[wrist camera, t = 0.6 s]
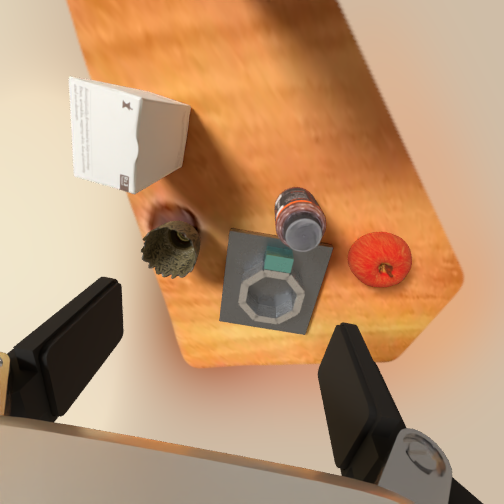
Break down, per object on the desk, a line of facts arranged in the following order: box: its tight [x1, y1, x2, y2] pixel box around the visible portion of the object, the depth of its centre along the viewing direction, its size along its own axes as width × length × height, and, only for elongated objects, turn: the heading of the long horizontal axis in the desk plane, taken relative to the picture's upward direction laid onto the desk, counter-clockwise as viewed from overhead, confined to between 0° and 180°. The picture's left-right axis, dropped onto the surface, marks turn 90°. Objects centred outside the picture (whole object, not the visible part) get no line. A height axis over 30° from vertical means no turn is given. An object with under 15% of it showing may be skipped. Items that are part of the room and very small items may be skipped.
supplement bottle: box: [275, 187, 326, 252], centre depth 32 cm, size 6×6×11 cm
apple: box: [348, 232, 412, 287], centre depth 36 cm, size 8×8×8 cm
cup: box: [141, 221, 200, 279], centre depth 37 cm, size 8×7×8 cm
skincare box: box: [69, 76, 191, 194], centre depth 27 cm, size 8×6×15 cm
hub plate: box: [219, 228, 333, 335], centre depth 42 cm, size 18×16×4 cm
